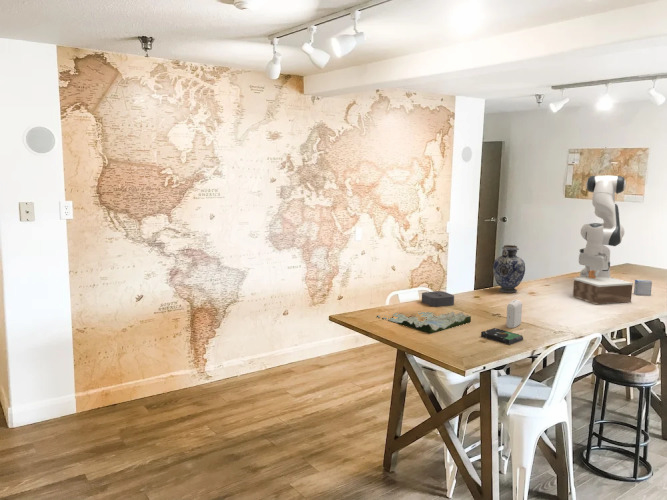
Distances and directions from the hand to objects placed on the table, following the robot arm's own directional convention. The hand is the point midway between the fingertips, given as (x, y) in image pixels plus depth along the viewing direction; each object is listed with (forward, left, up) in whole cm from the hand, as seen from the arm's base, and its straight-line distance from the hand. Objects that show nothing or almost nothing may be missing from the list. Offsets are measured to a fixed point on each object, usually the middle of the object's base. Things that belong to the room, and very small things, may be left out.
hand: (592, 274), depth 308 cm
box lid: (+9, 0, -3) cm, 9 cm away
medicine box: (+5, +32, -13) cm, 35 cm away
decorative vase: (-23, -40, -13) cm, 48 cm away
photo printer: (+43, -78, -13) cm, 90 cm away
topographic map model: (+23, -116, -14) cm, 119 cm away
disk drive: (+59, -94, -13) cm, 112 cm away
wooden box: (+9, 0, -13) cm, 15 cm away
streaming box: (-6, -95, -13) cm, 96 cm away
